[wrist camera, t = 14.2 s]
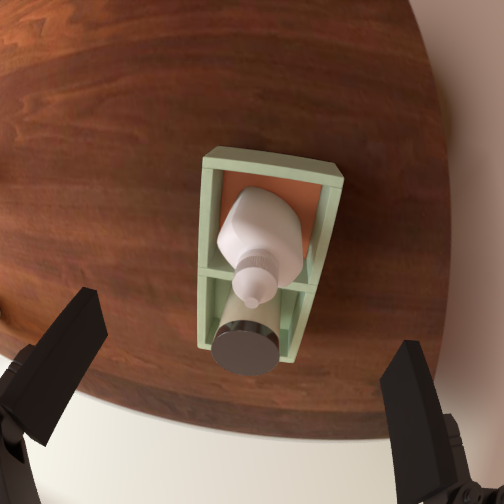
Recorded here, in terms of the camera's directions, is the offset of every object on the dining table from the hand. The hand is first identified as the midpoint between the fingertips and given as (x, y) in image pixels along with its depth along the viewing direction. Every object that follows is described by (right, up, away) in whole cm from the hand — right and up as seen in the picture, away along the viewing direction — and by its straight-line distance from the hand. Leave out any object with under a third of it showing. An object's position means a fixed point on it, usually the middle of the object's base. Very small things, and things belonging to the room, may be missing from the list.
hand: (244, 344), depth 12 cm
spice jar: (+1, 0, +18) cm, 18 cm away
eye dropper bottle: (+2, +7, +13) cm, 15 cm away
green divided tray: (+1, +4, +16) cm, 16 cm away
